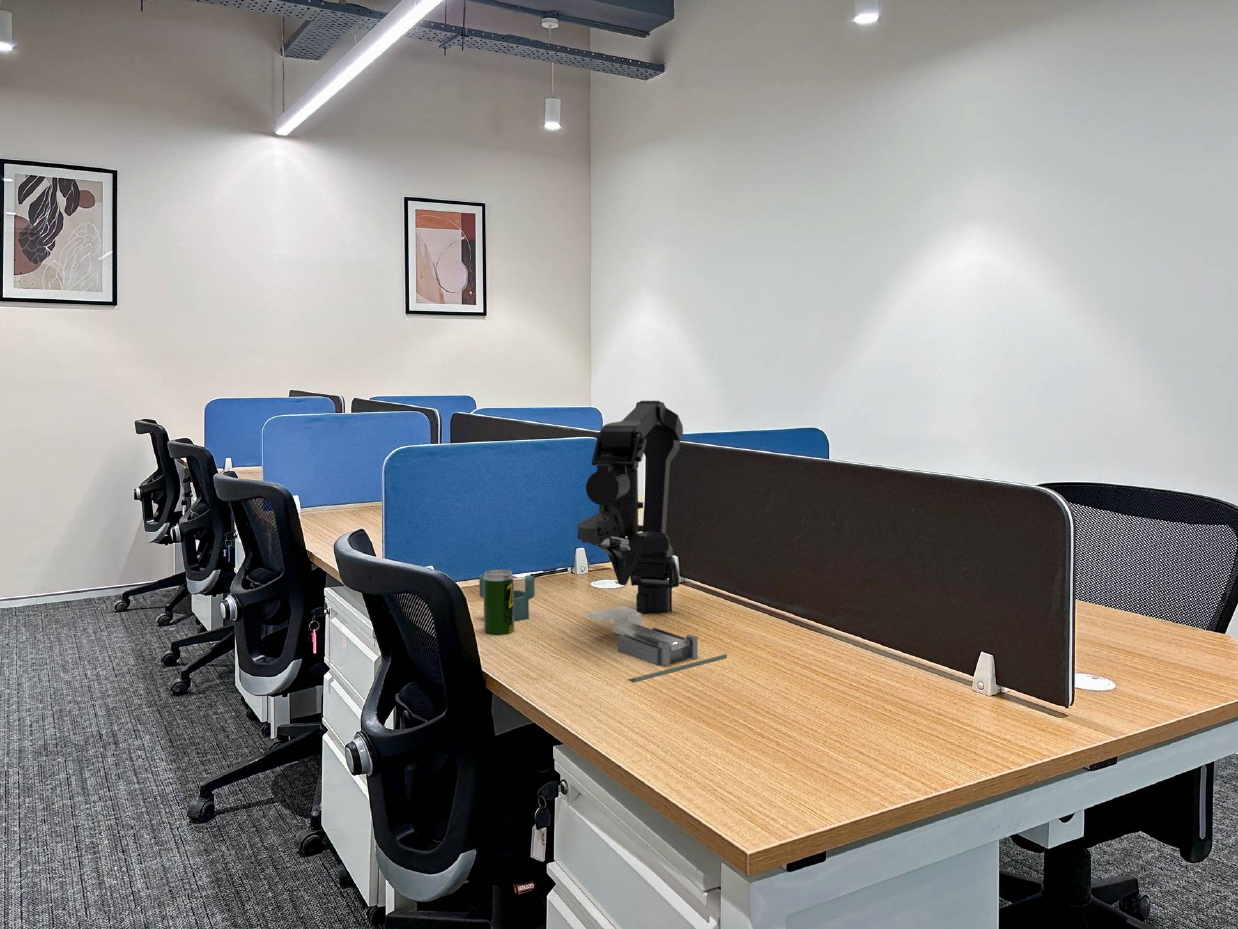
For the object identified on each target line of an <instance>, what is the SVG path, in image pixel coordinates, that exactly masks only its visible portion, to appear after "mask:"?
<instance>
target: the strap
mask: <svg viewBox="0 0 1238 929" xmlns="http://www.w3.org/2000/svg"><path fill="white" fill-rule="evenodd" d="M617 630H620V631H622V632H625V633H628V634H631V635H633V636H632V637H639V638H641V639H644V640H647V641H649V642H652V643H655V644H658V642H661V641H665V642H668V643H670V652H672V651H676V650H680V649H684V648H688V647H690V641H689V640H688V639H684V640H680V639H677V638H674V637H671V636H669V635H666V634H663V633H660V632H657V631H654V630H652V628H648V627H646V626H644V625H641V626H640V625H637V624H635V623H632V622H629V623H624V624H620V625H617Z"/></svg>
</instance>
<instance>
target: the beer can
mask: <svg viewBox="0 0 1238 929" xmlns="http://www.w3.org/2000/svg"><path fill="white" fill-rule="evenodd" d="M484 574H485V576H484V578H483V586H484V598H483V626H484V627H483V628H484V630H483V631H484V632H483V633H484V634H485V635H489V636H505V635H510V634H512V633H514V632H515V622H514V590H515V589H514V587H515V585H514V583H515V582H514V576H513V571H511V570H510V569H490V570H487V571H485V572H484Z"/></svg>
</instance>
